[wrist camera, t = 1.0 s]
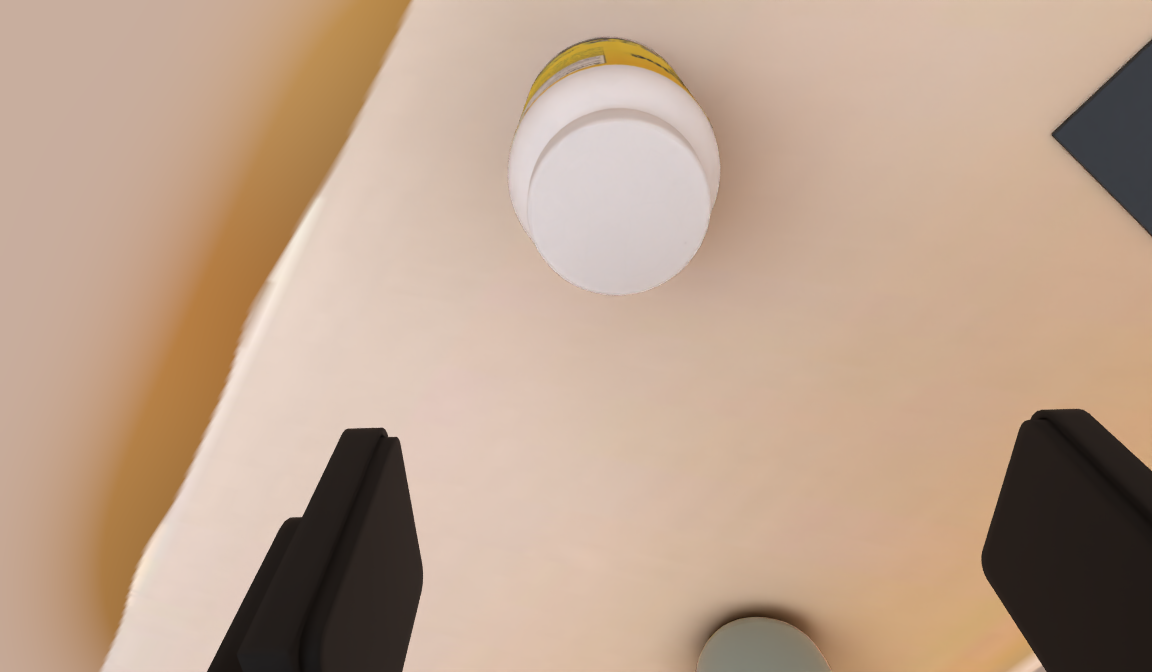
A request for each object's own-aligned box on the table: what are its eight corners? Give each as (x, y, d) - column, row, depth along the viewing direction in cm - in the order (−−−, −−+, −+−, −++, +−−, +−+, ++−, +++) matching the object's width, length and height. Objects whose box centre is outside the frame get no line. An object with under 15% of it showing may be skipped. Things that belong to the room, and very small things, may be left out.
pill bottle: (714, 147, 29) (783, 254, 19) (578, 225, 30) (578, 361, 21) (637, -3, 26) (671, 33, 16) (493, 90, 28) (447, 173, 18)
